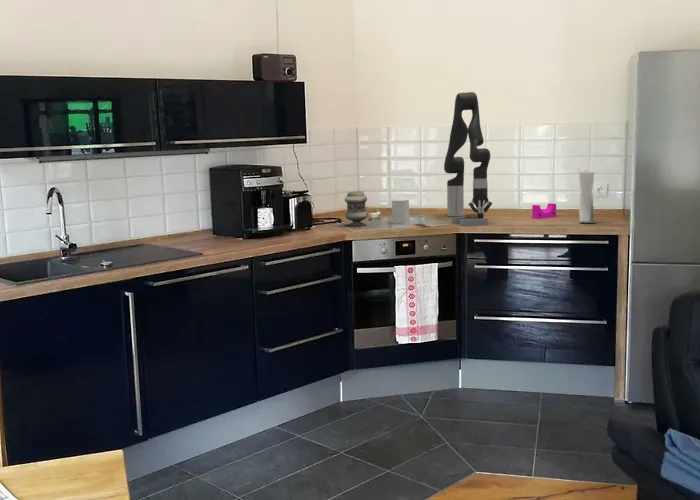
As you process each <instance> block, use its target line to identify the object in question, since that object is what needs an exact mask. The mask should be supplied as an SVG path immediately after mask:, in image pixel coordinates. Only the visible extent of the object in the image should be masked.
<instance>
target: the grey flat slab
mask: <svg viewBox="0 0 700 500" xmlns="http://www.w3.org/2000/svg"><path fill="white" fill-rule="evenodd" d="M450 217H451V224H454V225H455V224H459V226H461V227H468V226H469V227H472V226H488V225H489V218H483V219H465V216H450Z"/></svg>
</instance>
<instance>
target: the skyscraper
mask: <svg viewBox="0 0 700 500" xmlns="http://www.w3.org/2000/svg"><path fill="white" fill-rule="evenodd" d="M580 170H583V171H580ZM578 174H579V190H580V194H579V202H578V203H579V204H578V205H579V209H578V211H579V213H578V214H579V223H580V224H594V223H595V222H596V220H594V217H595V216H594V209H595V207H594V198H593V187H594V178H595V171H594V170H586V169H585V168H583V167H578Z"/></svg>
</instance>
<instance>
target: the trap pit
mask: <svg viewBox="0 0 700 500" xmlns="http://www.w3.org/2000/svg"><path fill="white" fill-rule="evenodd" d="M426 225H427V224H426V223H413V224H412V223H411V224H410V226H414V227H416V226H417V228H419V229H432V228H436V227H435V226H432V225H429V226H426ZM431 226H432V227H431Z"/></svg>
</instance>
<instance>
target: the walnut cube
mask: <svg viewBox="0 0 700 500" xmlns="http://www.w3.org/2000/svg"><path fill="white" fill-rule="evenodd" d="M464 217H465V219H478V214H477V213H464Z"/></svg>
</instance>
